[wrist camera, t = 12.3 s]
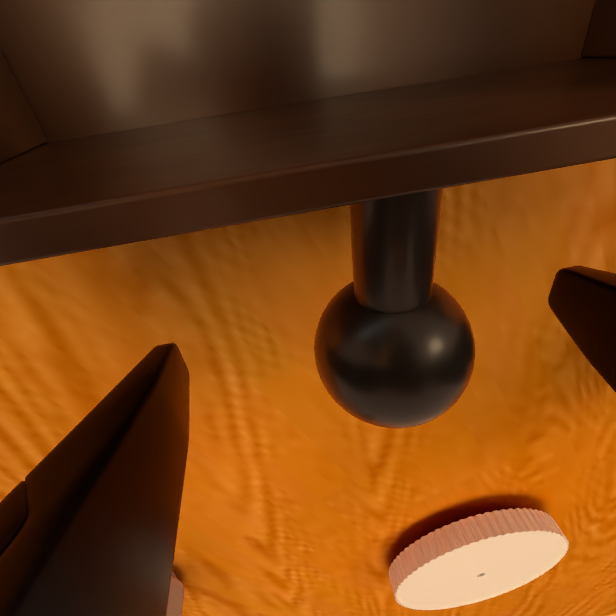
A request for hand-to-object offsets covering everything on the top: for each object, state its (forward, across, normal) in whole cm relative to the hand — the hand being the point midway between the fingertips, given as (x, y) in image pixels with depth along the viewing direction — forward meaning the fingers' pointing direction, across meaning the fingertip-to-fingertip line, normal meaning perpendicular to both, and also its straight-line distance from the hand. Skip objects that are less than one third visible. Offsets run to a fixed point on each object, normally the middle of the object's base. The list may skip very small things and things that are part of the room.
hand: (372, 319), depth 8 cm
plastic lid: (+6, -9, +30) cm, 32 cm away
